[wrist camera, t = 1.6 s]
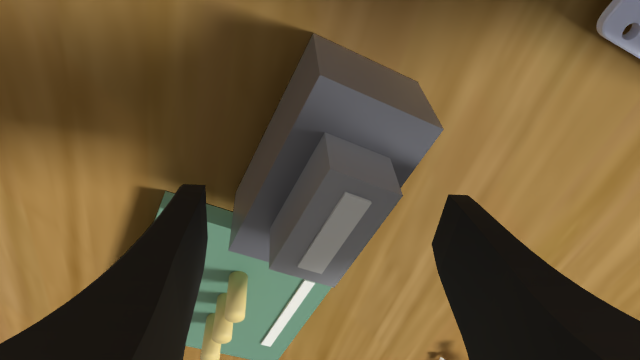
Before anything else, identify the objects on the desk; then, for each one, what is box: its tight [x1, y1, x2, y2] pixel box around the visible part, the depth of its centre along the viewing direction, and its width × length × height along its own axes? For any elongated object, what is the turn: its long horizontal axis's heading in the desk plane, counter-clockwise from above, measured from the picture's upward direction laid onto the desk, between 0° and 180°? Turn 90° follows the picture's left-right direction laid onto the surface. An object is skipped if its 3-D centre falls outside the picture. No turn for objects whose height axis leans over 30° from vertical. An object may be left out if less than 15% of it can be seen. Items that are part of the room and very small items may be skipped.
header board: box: [154, 191, 332, 360], centre depth 20 cm, size 8×8×3 cm
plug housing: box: [228, 33, 443, 287], centre depth 15 cm, size 4×7×5 cm, turn 154°
